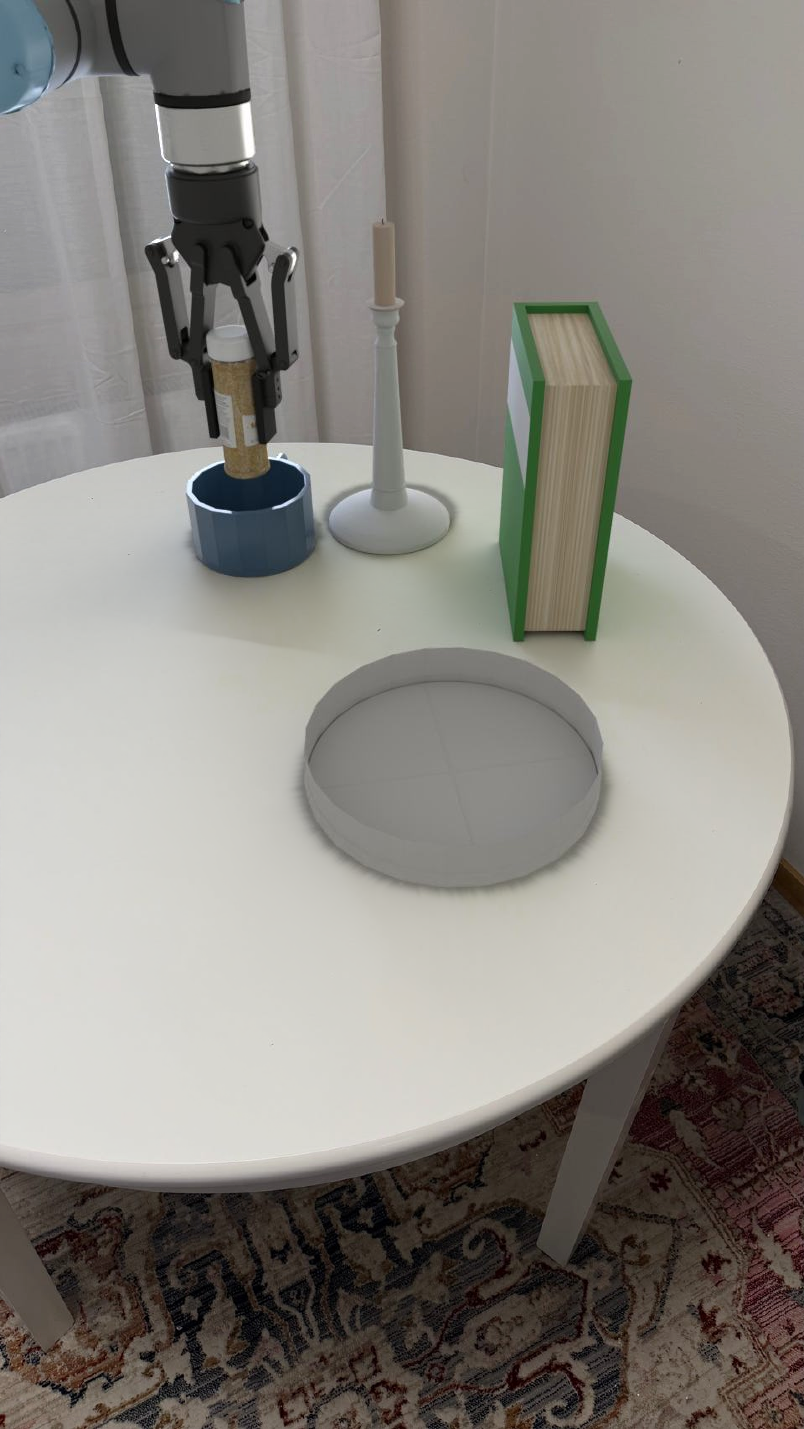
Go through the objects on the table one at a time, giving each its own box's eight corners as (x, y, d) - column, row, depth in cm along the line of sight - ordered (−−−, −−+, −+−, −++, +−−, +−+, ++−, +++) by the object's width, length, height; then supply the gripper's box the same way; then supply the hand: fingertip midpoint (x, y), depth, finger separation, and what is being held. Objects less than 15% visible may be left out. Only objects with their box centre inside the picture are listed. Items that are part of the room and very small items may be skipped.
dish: (551, 679, 86) (556, 632, 83) (641, 874, 70) (652, 824, 66) (292, 710, 83) (287, 662, 80) (322, 920, 67) (317, 870, 64)
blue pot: (290, 585, 98) (284, 521, 94) (176, 567, 101) (164, 504, 96) (340, 510, 109) (337, 450, 105) (236, 496, 112) (229, 437, 107)
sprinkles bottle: (272, 478, 97) (259, 338, 88) (225, 483, 96) (206, 342, 88) (267, 457, 100) (254, 321, 92) (222, 462, 100) (203, 325, 91)
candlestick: (412, 566, 100) (410, 247, 81) (305, 535, 105) (280, 227, 86) (470, 511, 109) (481, 210, 89) (369, 484, 114) (359, 194, 94)
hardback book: (595, 640, 91) (632, 380, 75) (513, 641, 91) (533, 381, 75) (570, 540, 104) (597, 301, 89) (498, 541, 104) (513, 302, 89)
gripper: (327, 157, 82) (342, 429, 97) (135, 147, 86) (177, 410, 101) (295, 178, 76) (315, 463, 91) (90, 167, 80) (142, 442, 95)
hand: (243, 435), depth 96 cm, fingers closed on sprinkles bottle, 4 cm apart
